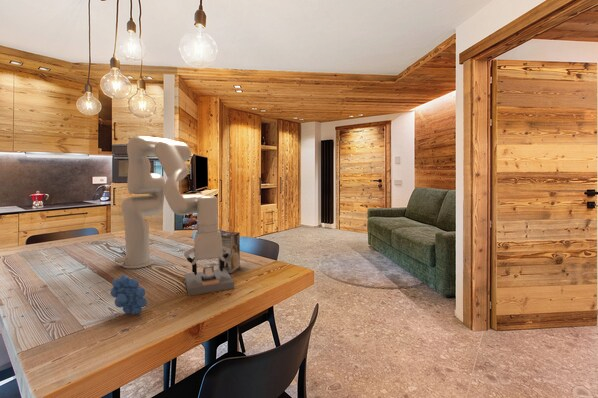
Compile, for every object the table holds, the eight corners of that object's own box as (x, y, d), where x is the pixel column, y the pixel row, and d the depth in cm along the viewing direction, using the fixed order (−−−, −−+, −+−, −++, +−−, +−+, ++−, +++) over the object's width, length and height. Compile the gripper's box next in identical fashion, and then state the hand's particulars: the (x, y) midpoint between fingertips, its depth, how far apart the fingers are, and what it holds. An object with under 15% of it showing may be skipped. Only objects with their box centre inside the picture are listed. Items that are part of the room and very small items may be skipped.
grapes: (100, 319, 85) (98, 279, 83) (118, 308, 91) (116, 271, 90) (136, 322, 83) (134, 282, 82) (151, 311, 89) (150, 273, 88)
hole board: (188, 295, 101) (188, 288, 101) (185, 280, 115) (184, 273, 115) (234, 288, 108) (234, 281, 108) (225, 274, 122) (225, 268, 122)
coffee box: (227, 265, 134) (227, 231, 133) (240, 266, 133) (240, 232, 131) (218, 272, 125) (217, 235, 124) (231, 273, 124) (231, 236, 122)
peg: (203, 286, 109) (203, 268, 108) (202, 283, 113) (202, 265, 112) (214, 285, 111) (214, 267, 110) (212, 281, 114) (212, 264, 114)
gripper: (184, 231, 103) (185, 278, 104) (232, 228, 110) (233, 272, 112) (182, 228, 109) (183, 272, 111) (228, 225, 117) (229, 266, 118)
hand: (208, 272), depth 111 cm, fingers open, 9 cm apart
